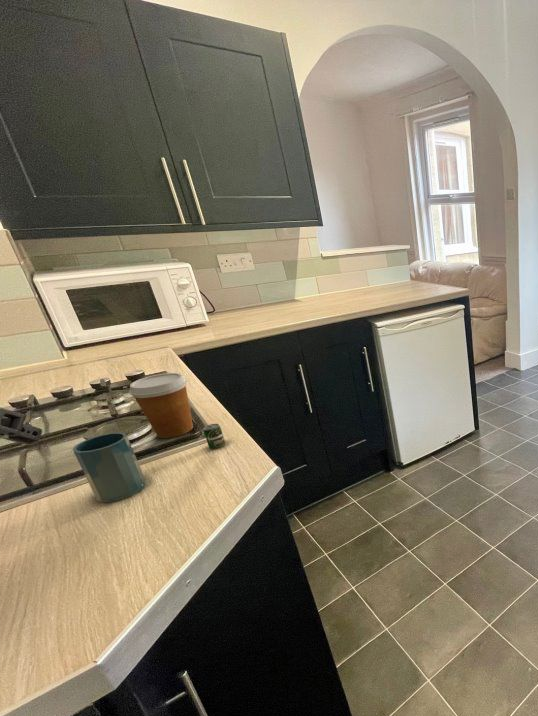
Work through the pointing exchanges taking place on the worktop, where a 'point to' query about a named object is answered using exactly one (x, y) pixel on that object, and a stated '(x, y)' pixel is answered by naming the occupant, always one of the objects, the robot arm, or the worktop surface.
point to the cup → (110, 466)
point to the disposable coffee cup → (164, 403)
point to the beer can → (214, 436)
